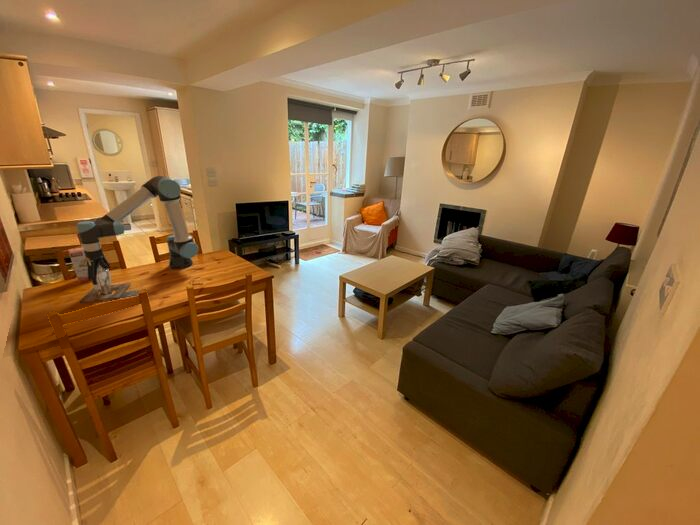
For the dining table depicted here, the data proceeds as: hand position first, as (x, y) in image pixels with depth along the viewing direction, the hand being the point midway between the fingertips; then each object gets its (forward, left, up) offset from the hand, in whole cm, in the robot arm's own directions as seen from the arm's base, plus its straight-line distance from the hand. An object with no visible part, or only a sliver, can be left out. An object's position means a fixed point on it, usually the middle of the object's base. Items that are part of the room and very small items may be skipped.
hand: (103, 283), depth 165 cm
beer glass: (0, 0, -7) cm, 7 cm away
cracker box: (+17, -26, -7) cm, 32 cm away
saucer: (-14, +6, -7) cm, 17 cm away
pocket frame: (0, 0, -7) cm, 7 cm away
